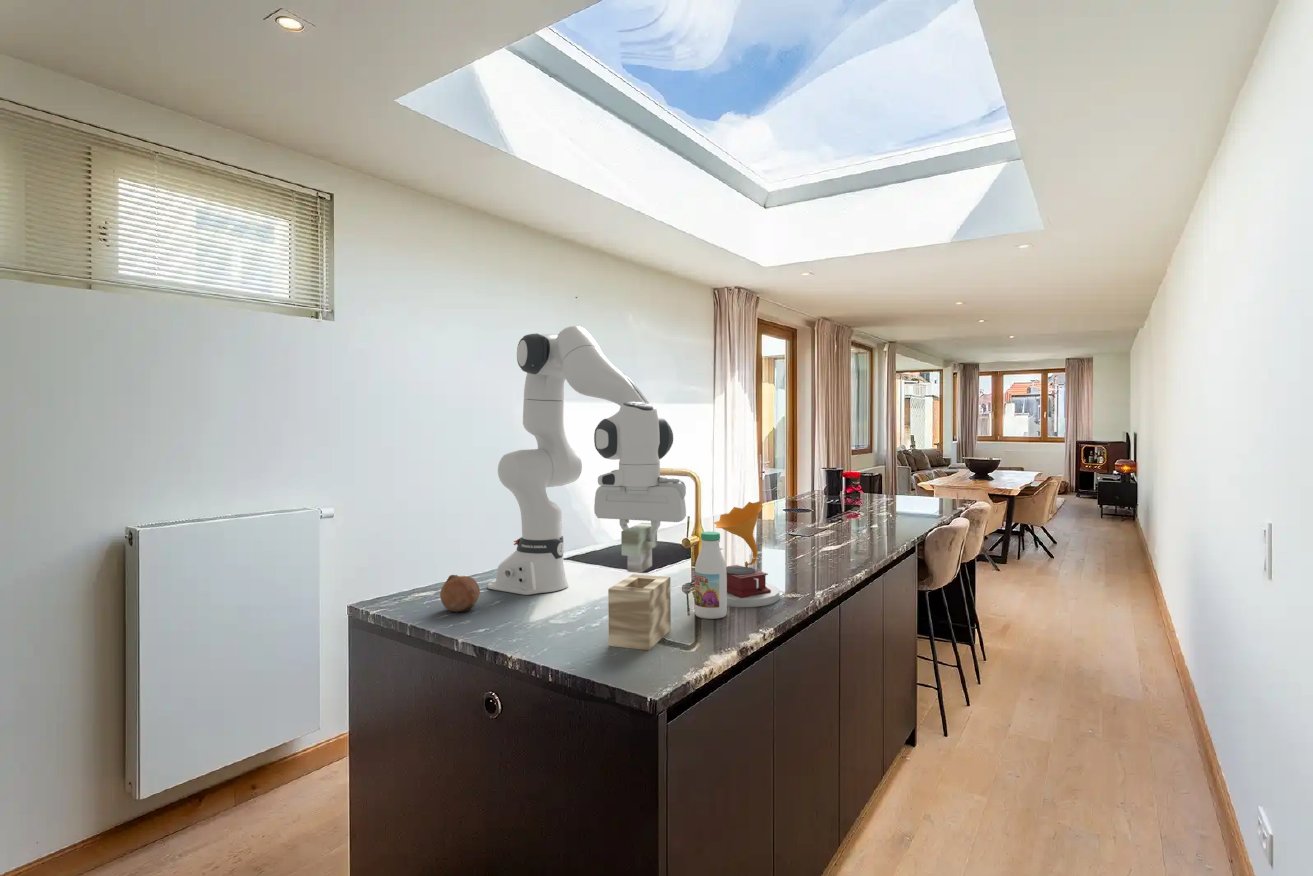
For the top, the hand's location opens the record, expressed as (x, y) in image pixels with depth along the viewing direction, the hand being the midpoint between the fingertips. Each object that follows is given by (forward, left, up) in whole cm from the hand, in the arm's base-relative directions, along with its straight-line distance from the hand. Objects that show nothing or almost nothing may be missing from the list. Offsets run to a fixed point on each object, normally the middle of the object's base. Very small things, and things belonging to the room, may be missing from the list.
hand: (639, 540), depth 148 cm
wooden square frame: (0, 0, -21) cm, 21 cm away
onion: (-50, +5, -21) cm, 55 cm away
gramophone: (+13, +40, -22) cm, 47 cm away
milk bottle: (+10, +21, -21) cm, 32 cm away
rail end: (0, 0, -6) cm, 6 cm away
